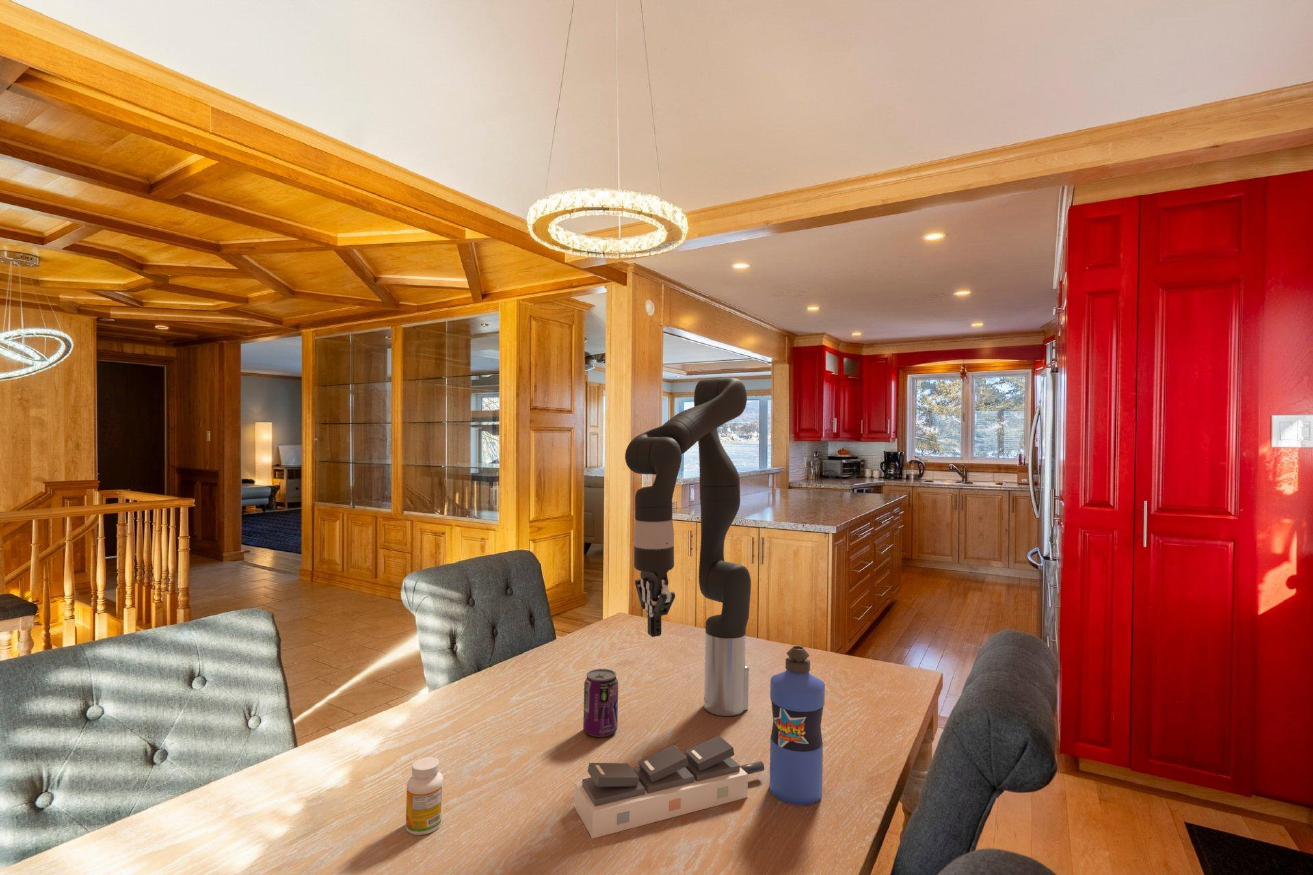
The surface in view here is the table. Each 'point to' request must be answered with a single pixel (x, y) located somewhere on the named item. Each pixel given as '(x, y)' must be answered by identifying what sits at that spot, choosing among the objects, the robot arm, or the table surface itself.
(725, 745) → the rocker
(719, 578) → the robot arm
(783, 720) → the blue squeeze bottle
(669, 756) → the plate
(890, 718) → the table surface
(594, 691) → the beverage can
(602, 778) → the rocker
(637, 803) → the power strip
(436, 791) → the supplement bottle
